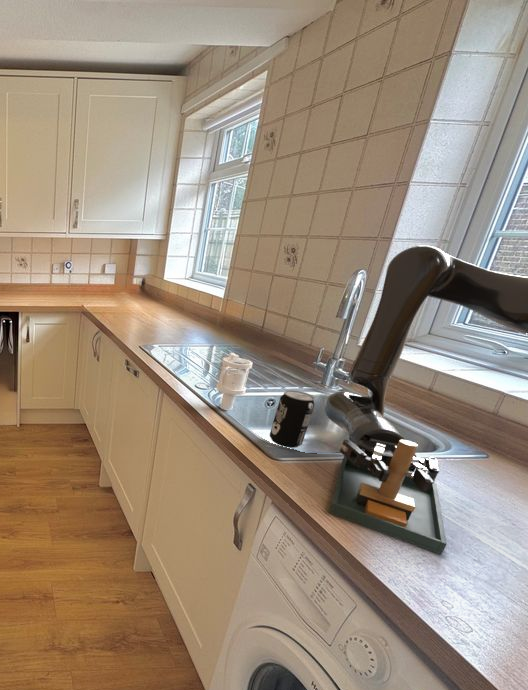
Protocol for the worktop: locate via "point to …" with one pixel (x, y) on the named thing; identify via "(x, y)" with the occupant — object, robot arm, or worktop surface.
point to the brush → (392, 481)
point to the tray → (418, 531)
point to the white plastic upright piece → (232, 379)
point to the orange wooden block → (386, 513)
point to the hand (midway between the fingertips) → (405, 481)
